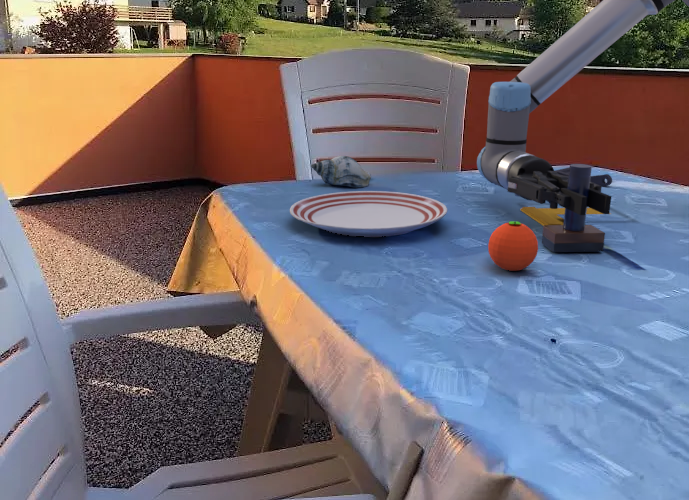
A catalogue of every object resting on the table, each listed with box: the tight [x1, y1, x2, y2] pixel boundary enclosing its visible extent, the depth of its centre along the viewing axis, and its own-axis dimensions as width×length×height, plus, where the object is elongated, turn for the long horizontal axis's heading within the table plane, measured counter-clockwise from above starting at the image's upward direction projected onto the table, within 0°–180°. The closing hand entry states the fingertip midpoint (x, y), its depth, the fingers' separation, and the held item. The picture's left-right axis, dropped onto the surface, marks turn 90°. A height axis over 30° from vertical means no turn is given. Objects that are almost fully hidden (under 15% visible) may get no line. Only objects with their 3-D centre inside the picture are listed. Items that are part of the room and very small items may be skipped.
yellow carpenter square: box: [520, 206, 612, 227], centre depth 131 cm, size 16×14×1 cm
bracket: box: [554, 166, 613, 187], centre depth 165 cm, size 14×15×3 cm
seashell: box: [310, 155, 372, 189], centre depth 156 cm, size 6×8×12 cm
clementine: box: [487, 220, 539, 272], centre depth 101 cm, size 8×7×7 cm
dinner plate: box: [289, 190, 448, 238], centre depth 124 cm, size 28×27×3 cm
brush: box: [541, 163, 606, 253], centre depth 110 cm, size 8×5×13 cm, turn 96°
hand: (595, 205), depth 104 cm, fingers closed on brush, 3 cm apart
